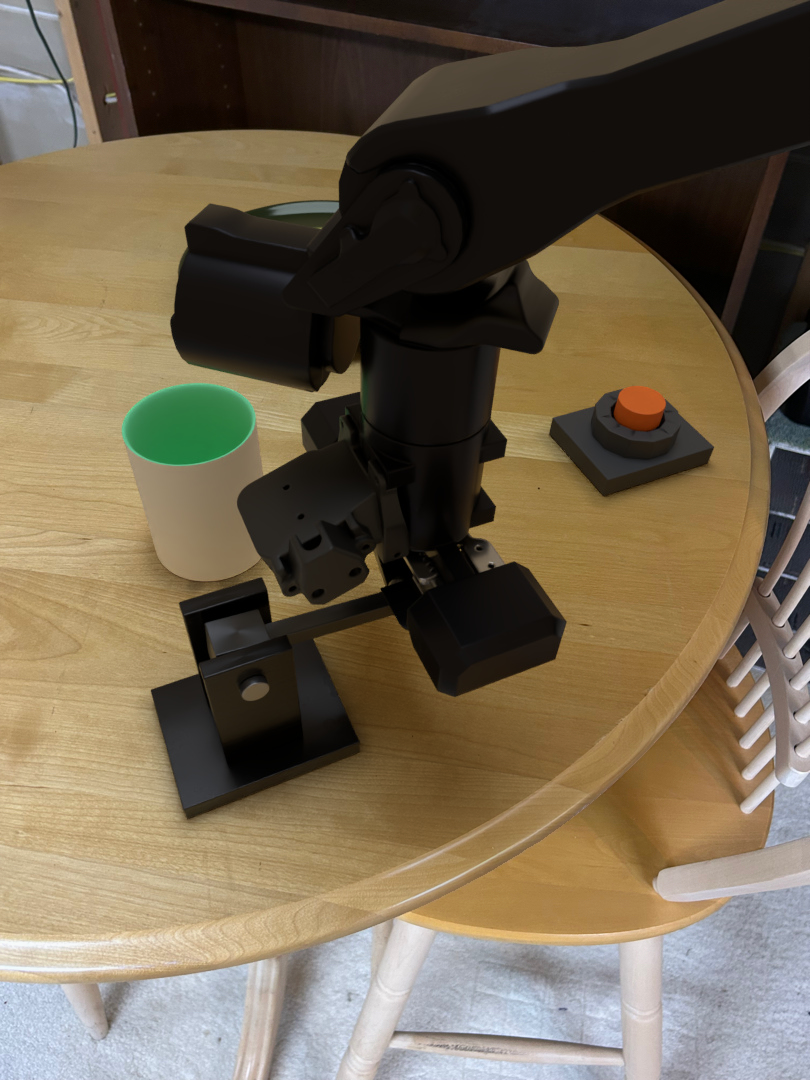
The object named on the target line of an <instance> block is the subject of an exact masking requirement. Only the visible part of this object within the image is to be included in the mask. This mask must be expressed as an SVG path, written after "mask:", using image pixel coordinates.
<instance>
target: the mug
mask: <svg viewBox="0 0 810 1080" xmlns="http://www.w3.org/2000/svg"><path fill="white" fill-rule="evenodd" d="M121 437H122V440H123V444H124V447H125V450H126V453H127V457H128V461H129V464H130V467H131V470H132V474H133V477H134V481H135V485H136V488H137V492H138V495H139V498H140V502H141V505H142V508H143V512H144V516H145V519H146V522H147V526H148V530H149V533H150V536H151V540H152V543H153V547H154V550H155V553H156V556H157V558H158V560H159V562H160V563H161V564H162V566H163V567H164V568H165V569H166V570H168V571H169V572H170V573H171V574H173V575H176V576H177V577H180V578H182V579H185V580H189V581H195V582H217V581H222V580H226V579H230V578H233V577H236V576H239V575H240V574H243V573H245V572H246V571H249V570H250V569H251V568H252V567H254V566H255V565H256V564H257V563H259V562H260V560H262V558H261V557H260V556H259V554H258V553H257V551H256V549H255V547H254V545H253V542H252V540H251V538H250V535H249V533H248V531H247V528H246V526H245V524H244V521H243V519H242V517H241V515H240V512H239V510H238V507H237V498H238V496H239V494H240V492H241V491H242V490H243V489H244V488H245V487H246V486H247V485H248V484H250V483H252V482H253V481H255V480H257V479H259V478H260V477H262V476H264V469H263V462H262V455H261V445H260V438H259V431H258V424H257V416H256V411H255V408H254V406H253V405H252V403H251V402H250V400H249V399H248V398H246V397H245V396H244V395H243V394H241V393H240V392H238V391H236V390H235V389H232V388H229V387H227V386H223V385H219V384H215V383H207V382H190V383H181V384H175V385H171V386H167V387H165V388H161V389H159V390H156V391H154V392H152V393H150V394H147V395H146V396H144V397H143V398H142V399H140V400H139V401H138V402H136V403H135V404H134V405H133V406H132V407H131V408H129V411H128V412H127V413H126V414H125V416H124V419H123V421H122V424H121Z"/></svg>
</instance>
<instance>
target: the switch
mask: <svg viewBox="0 0 810 1080" xmlns="http://www.w3.org/2000/svg"><path fill="white" fill-rule="evenodd" d="M178 606H179V610H180V613H181V616H182V620H183V624H184V628H185V631H186V636H187V638H188V642H189V645H190V648H191V653H192V657H193V659H194V660H193V661H194V663H195V666H196V670H197V673H196V674H193V675H190V676H187V677H184V678H181V679H178V680H175V681H172V682H169V683H166V684H163V685H160V686H158V687H157V686H156V687H155V688H151V689H150V694H151V697H152V700H153V701H152V702H153V705H154V708H155V712H156V716H157V718H158V719H157V720H158V723H159V727H160V731H161V734H162V738H163V741H164V746H165V748H166V752H167V756H168V760H169V763H170V767H171V771H172V774H173V778H174V782H175V786H176V789H177V793H178V797H179V800H180V804H181V808H182V811H183V813H184V815H185V818H186V820H189V819H191V818H194V817H197V816H199V815H202V814H204V813H207V812H209V811H212V810H214V809H218V808H220V807H222V806H225V805H228V804H230V803H232V802H235V801H237V800H240V799H242V798H245V797H248V796H250V795H254V794H256V793H259V792H261V791H263V790H267V789H269V788H271V787H274V786H276V785H279V784H281V783H284V782H287V781H289V780H292V779H293V778H297V777H299V776H303V775H304V774H307V773H310V772H312V771H315V770H318V769H320V768H322V767H325V766H328V765H331V764H333V763H336V762H338V761H341V760H344V759H347V758H348V757H351V756H354V755H356V754H359V753H361V742H360V739H359V737H358V735H357V733H356V730H355V728H354V725H353V723H352V720H351V719H350V717H349V714H348V713H347V712H348V711H346V707H345V706H344V704H343V701H342V699H341V697H340V695H339V692H338V691H337V688H336V686H335V683H334V681H333V680H332V677H331V675H330V672H329V670H328V668H327V666H326V663H325V662H324V660H323V657H322V655H321V653H320V650H319V648H318V646H317V644H316V641H315V638H314V639H310V640H307V641H304V642H300V643H297V644H293V645H291V644H290V641H289V639H288V636H287V635H286V634H285V635H282V636H279V637H276V638H273V639H270V640H267V641H264V642H261V643H258V644H255V645H252V646H249V647H246V648H243V649H240V650H236V651H233V652H230V653H227V654H224V655H221V656H218V657H215V658H212V659H210V656H209V653H208V648H207V640H206V633H205V625H204V624H205V623H206V622H210V621H214V620H218V619H221V618H225V617H229V616H232V615H236V614H240V613H243V612H247V611H251V610H255V609H258V610H259V612H260V615H261V617H262V620H263V622H264V624H267V623H271V622H273V618H272V612H271V604H270V597H269V591H268V588H267V586H266V583H265V580H264V577H262V576H260V577H257V578H253V579H250V580H247V581H243V582H240V583H236V584H233V585H230V586H227V587H224V588H220V589H217V590H214V591H210V592H208V593H204V594H201V595H197V596H194V597H190V598H188V599H185V600H181V601H179V602H178Z"/></svg>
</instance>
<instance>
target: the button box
mask: <svg viewBox="0 0 810 1080" xmlns="http://www.w3.org/2000/svg"><path fill="white" fill-rule="evenodd" d="M623 389H624V388H620V389H616V390H612V391H609V392H606V393H604V394H603V395H602V396H601V397H600V398H599V399H598V400H597V401H596V402H595V404H594V406H590V407H586V408H583V409H579V410H576V411H572V412H568V413H564V414H561V415H558V416H553V417H552V418H551V423H550V428H549V435H550V437H551V438H552V439H553V440H554V441H555V442H556V444H557V445H558V446H559V447H560V449H562V450H563V451H564V452H565V454H566V455H567V456H568V457H569V458H570V460H572V462H573V463H574V464H575V466H577V468H578V469H579V470H580V471H581V472H582V473H583V474H584V475H585V476H586V478H587V479H588V480H589V482H591V484H592V485H593V486H594V487H595V488H596V490H598V491H599V493H600V494H601V495H602V497H603V496H607V495H611V494H614V493H618V492H621V491H624V490H627V489H630V488H634V487H636V486H640V485H644V484H646V483H649V482H653V481H656V480H658V479H662V478H665V477H668V476H671V475H674V474H677V473H681V472H684V471H688V470H691V469H693V468H697V467H699V466H703V465H706V464H709V461H710V460H711V457H712V454H713V452H714V449H715V446H714V445H713V444H712V443H711V442H710V441H709V440H707V438H705V436H703V434H701V433H700V432H699V431H698V429H696V428H695V427H694V426H693V425H691V423H690V422H688V420H686V418H684V417H683V416H682V415H681V414H680V413H679V410H678V409H677V408H676V407H674V405H672V403H670V401H668V400H667V399H666V398H664V399H665V401H666V406H665V409H664V412H663V415H662V418H661V421H660V424H659V426H658V427H657V428H655V429H654V430H651V431H648V432H644V431H633V430H631V429H629V428H626V427H624V426H622V425H620V424H619V423H618V422H617V421H616V420H615V418H614V410H615V406H616V403H617V399H618V395H619V393H620V392H621V391H622V390H623Z"/></svg>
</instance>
